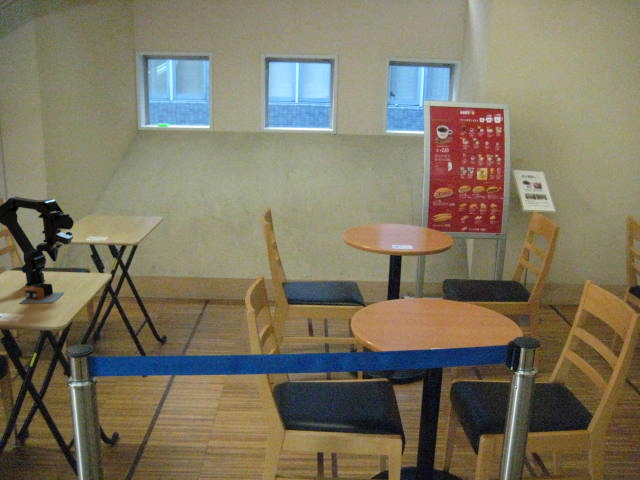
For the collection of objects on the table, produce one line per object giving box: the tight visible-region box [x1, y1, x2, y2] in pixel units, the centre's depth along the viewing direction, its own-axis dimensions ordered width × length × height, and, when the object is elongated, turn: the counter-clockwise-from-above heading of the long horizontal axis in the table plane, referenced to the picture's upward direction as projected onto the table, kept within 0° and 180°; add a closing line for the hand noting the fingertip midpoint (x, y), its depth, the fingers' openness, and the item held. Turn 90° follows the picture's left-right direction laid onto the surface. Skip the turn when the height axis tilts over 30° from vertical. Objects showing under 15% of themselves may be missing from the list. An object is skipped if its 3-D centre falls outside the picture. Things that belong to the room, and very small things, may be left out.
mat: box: [19, 292, 65, 305], centre depth 250 cm, size 14×12×1 cm
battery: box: [24, 282, 54, 300], centre depth 251 cm, size 4×7×10 cm
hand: (54, 261), depth 263 cm, fingers closed
